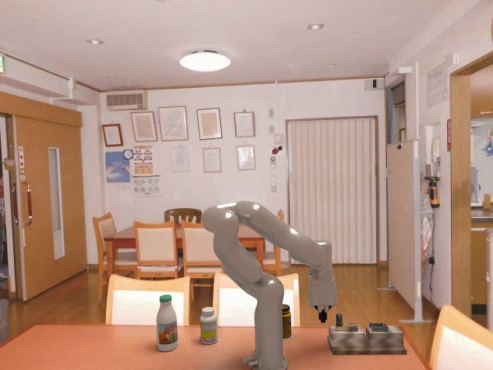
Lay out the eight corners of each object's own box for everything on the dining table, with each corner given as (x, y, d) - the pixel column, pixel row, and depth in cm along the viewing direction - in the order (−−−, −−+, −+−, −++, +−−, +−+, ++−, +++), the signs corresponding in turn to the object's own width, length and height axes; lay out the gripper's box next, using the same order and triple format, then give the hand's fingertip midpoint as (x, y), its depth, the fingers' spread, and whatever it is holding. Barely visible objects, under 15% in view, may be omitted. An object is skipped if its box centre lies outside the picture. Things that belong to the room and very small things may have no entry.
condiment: (296, 336, 151) (295, 306, 150) (279, 342, 146) (278, 312, 145) (284, 329, 157) (283, 301, 156) (268, 335, 152) (267, 306, 152)
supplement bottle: (205, 336, 153) (204, 305, 152) (220, 338, 151) (219, 306, 150) (197, 343, 147) (196, 311, 146) (213, 346, 145) (212, 313, 144)
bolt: (335, 330, 140) (335, 316, 139) (334, 327, 142) (334, 313, 142) (357, 330, 139) (357, 315, 139) (356, 327, 142) (355, 313, 141)
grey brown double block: (333, 354, 135) (332, 337, 135) (327, 339, 147) (327, 322, 147) (406, 354, 134) (406, 336, 134) (395, 338, 146) (394, 322, 146)
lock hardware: (350, 332, 139) (349, 327, 139) (347, 327, 143) (347, 323, 143) (388, 331, 138) (388, 327, 138) (384, 326, 142) (384, 322, 142)
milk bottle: (153, 349, 143) (150, 298, 142) (166, 340, 150) (164, 291, 149) (169, 353, 140) (166, 301, 138) (182, 344, 146) (179, 294, 145)
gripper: (302, 277, 136) (303, 326, 138) (344, 276, 136) (345, 325, 137) (300, 270, 144) (301, 317, 145) (340, 270, 143) (340, 317, 144)
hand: (322, 321), depth 141 cm, fingers closed
